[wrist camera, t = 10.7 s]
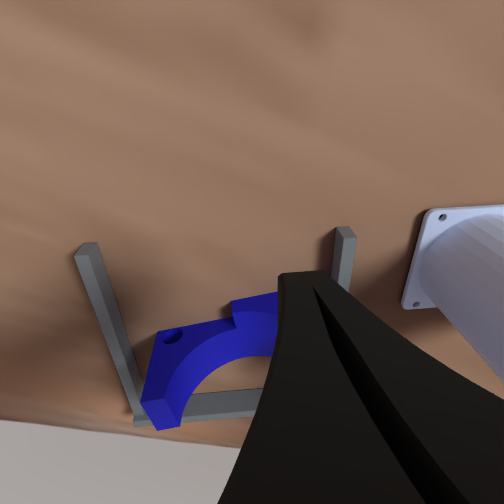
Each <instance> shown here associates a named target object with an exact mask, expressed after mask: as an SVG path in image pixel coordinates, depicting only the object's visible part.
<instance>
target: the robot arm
mask: <svg viewBox="0 0 504 504" xmlns="http://www.w3.org/2000/svg"><path fill="white" fill-rule="evenodd" d="M442 214H443V216H442V217H441V218H440V219H438V218H439V216H440V215H442ZM415 302H416V303H415ZM401 305H402V307H403V308H404V309H406V310H410V309H423V308H436V307H438V309H439V310H440V311H441V312H442V313H443V314H444V315H445V317H446V318H447V319H448V320H449V321H450V322H451V323H452V325H453V326H454V327H455V328H456V329H457V330H458V331H459V332H460V334H461V335H462V336H463V337H464V338H465V339H466V340H467V342H468V343H469V344H470V345H471V346H472V347H473V348H474V350H475V351H476V352H477V353H478V354H479V355H480V356H481V358H482V359H483V360H484V361H485V362H486V363H487V364H488V366H489V367H490V368H491V369H492V370H493V371H494V372H495V374H496V375H497V376H498V377H499V378H500V379H501V380H502V381H503V383H504V204H500V205H484V206H468V207H452V208H435V209H430V210H429V211H427V212H426V213H425V215H424V218H423V222H422V226H421V230H420V233H419V237H418V241H417V244H416V248H415V252H414V256H413V259H412V263H411V267H410V270H409V274H408V278H407V281H406V285H405V289H404V293H403V296H402V300H401ZM277 324H278V331H277V336H276V342H275V347H274V351H273V355H272V359H271V363H270V367H269V371H268V374H267V378H266V381H265V384H264V388H263V391H262V394H261V397H260V400H259V403H258V406H257V409H256V412H255V414H254V417H253V420H252V423H251V425H250V428H249V431H248V433H247V436H246V438H245V441H244V443H243V445H242V448H241V450H240V453H239V456H238V458H237V460H236V463H235V465H234V468H233V470H232V473H231V475H230V477H229V479H228V482H227V484H226V486H225V489H224V491H223V493H222V495H221V497H220V499H219V501H218V503H217V504H504V399H502V398H500V397H498V396H496V395H495V394H493V393H491V392H489V391H487V390H486V389H484V388H482V387H480V386H479V385H477V384H475V383H473V382H472V381H470V380H468V379H467V378H465V377H463V376H462V375H460V374H458V373H457V372H455V371H453V370H452V369H450V368H449V367H447V366H446V365H444V364H442V363H441V362H439V361H438V360H436V359H435V358H433V357H432V356H430V355H429V354H427V353H425V352H424V351H422V350H421V349H420V348H418V347H417V346H415V345H414V344H412V343H411V342H410V341H408V340H407V339H405V338H404V337H403V336H401V335H400V334H399V333H397V332H396V331H395V330H393V329H392V328H391V327H389V326H388V325H387V324H385V323H384V322H383V321H382V320H380V319H379V318H378V317H377V316H375V315H374V314H373V313H372V312H370V311H369V310H368V309H367V308H366V307H364V306H363V305H362V304H361V303H360V302H359V301H357V300H356V299H355V298H354V297H353V296H352V295H351V294H349V293H348V292H347V291H346V290H345V289H344V288H343V287H342V286H340V285H339V284H338V283H337V282H336V281H335V280H334V279H333V278H332V277H331V276H329V275H328V274H327V273H326V272H325V271H324V270H319V271H305V272H292V273H282V274H280V275H279V276H278V312H277Z"/></svg>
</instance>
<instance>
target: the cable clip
mask: <svg viewBox="0 0 504 504" xmlns="http://www.w3.org/2000/svg"><path fill="white" fill-rule="evenodd" d="M231 302H232V315H233V317H229V318H224V319H219V320H214V321H209V322H204V323H199V324H194V325H189V326H184V327H179V328H173V329H168V330H163V331H158V332H157V336H156V340H155V344H154V348H153V352H152V356H151V360H150V364H149V368H148V372H147V376H146V380H145V384H144V388H143V392H142V396H141V400H140V404H141V406H142V407H143V409H144V411H145V412H146V414H147V415H148V417H149V419H150V420H151V422H152V423H153V425H154V426H155V428H156V430H157V431H158V430H164V429H169V428H174V427H180V423H181V418H182V415H183V411H184V409H185V406H186V404H187V402H188V400H189V398H190V396H191V394H192V393H193V391H194V390H195V389H196V387H197V386H198V385H199V384H200V383H201V381H202V380H203V379H204V378H205V377H206V376H208V375H209V374H210V373H211V372H213V371H214V370H215V369H217V368H218V367H220V366H222V365H224V364H226V363H228V362H230V361H233V360H235V359H239V358H243V357H248V356H269V357H272V355H273V351H274V347H275V342H276V336H277V331H278V324H277V312H278V292H273V293H268V294H263V295H258V296H253V297H248V298H243V299H238V300H233V301H231Z"/></svg>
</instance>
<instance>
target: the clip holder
mask: <svg viewBox="0 0 504 504" xmlns="http://www.w3.org/2000/svg"><path fill="white" fill-rule="evenodd" d="M356 242H357V237H356V235H355V234H354V233H353V231H352V230H351V229H350V228H349V226H348V227H336V235H335V243H334V252H333V261H332V269H331V277H332V278H333V279H334V280H335V281H336V282H337V283H338V284H339V285H340V286H342V287H343V288H344V289H345V290H346V291H347V292H348V293H349V286H350V280H351V273H352V267H353V261H354V254H355V248H356ZM74 258H75V261H76V264H77V266H78V269H79V272H80V274H81V277H82V279H83V282H84V285H85V287H86V290H87V293H88V295H89V298H90V301H91V303H92V306H93V308H94V311H95V314H96V316H97V319H98V322H99V324H100V327H101V329H102V332H103V335H104V337H105V340H106V343H107V345H108V348H109V351H110V353H111V356H112V358H113V361H114V364H115V366H116V369H117V372H118V374H119V377H120V379H121V382H122V385H123V387H124V390H125V393H126V395H127V398H128V401H129V403H130V406H131V408H132V411H133V414H134V419H133V424H134V426H135V427H142V426H153V423H152V422H151V420H150V419H149V417H148V415H147V414H146V412H145V411H144V409H143V407H142V406H141V404H140V400H141V396H142V392H143V388H144V385H143V382H142V379H141V376H140V373H139V370H138V367H137V364H136V361H135V358H134V354H133V351H132V348H131V345H130V342H129V339H128V336H127V333H126V330H125V327H124V324H123V321H122V318H121V315H120V312H119V309H118V306H117V302H116V299H115V296H114V293H113V290H112V287H111V284H110V281H109V278H108V275H107V272H106V269H105V266H104V263H103V260H102V257H101V254H100V250H99V247H98V244H97V243H83V245H82V246H81V247H80V249H79V250H78V251H77V252H76V254H75V255H74ZM262 391H263V388H261V389H249V390H238V391H226V392H215V393H203V394H192V395H191V396H190V398H189V400H188V402H187V404H186V406H185V409H184V411H183V415H182V418H181V423H186V422H197V421H208V420H219V419H230V418H241V417H252V416H254V414H255V412H256V409H257V406H258V403H259V400H260V397H261V394H262Z"/></svg>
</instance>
